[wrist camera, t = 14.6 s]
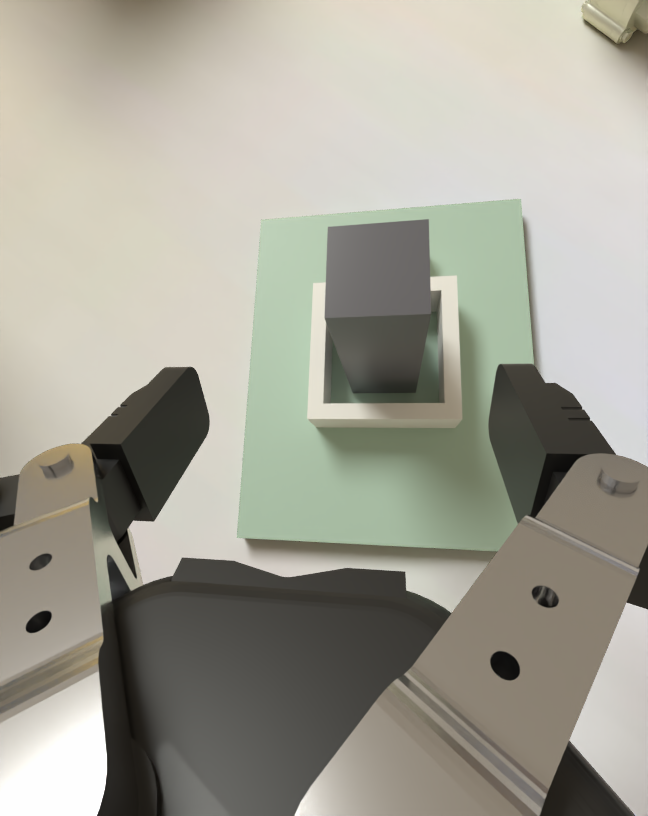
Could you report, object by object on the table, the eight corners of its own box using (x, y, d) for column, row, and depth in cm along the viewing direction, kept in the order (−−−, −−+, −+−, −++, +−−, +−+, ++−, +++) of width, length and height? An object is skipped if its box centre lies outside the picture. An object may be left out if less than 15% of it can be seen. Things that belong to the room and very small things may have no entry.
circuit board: (541, 551, 21) (569, 561, 18) (243, 536, 24) (218, 541, 20) (516, 210, 26) (534, 165, 22) (265, 229, 28) (248, 192, 25)
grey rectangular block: (415, 392, 23) (431, 313, 13) (352, 393, 24) (324, 317, 14) (414, 333, 24) (428, 219, 14) (353, 335, 24) (327, 226, 15)
